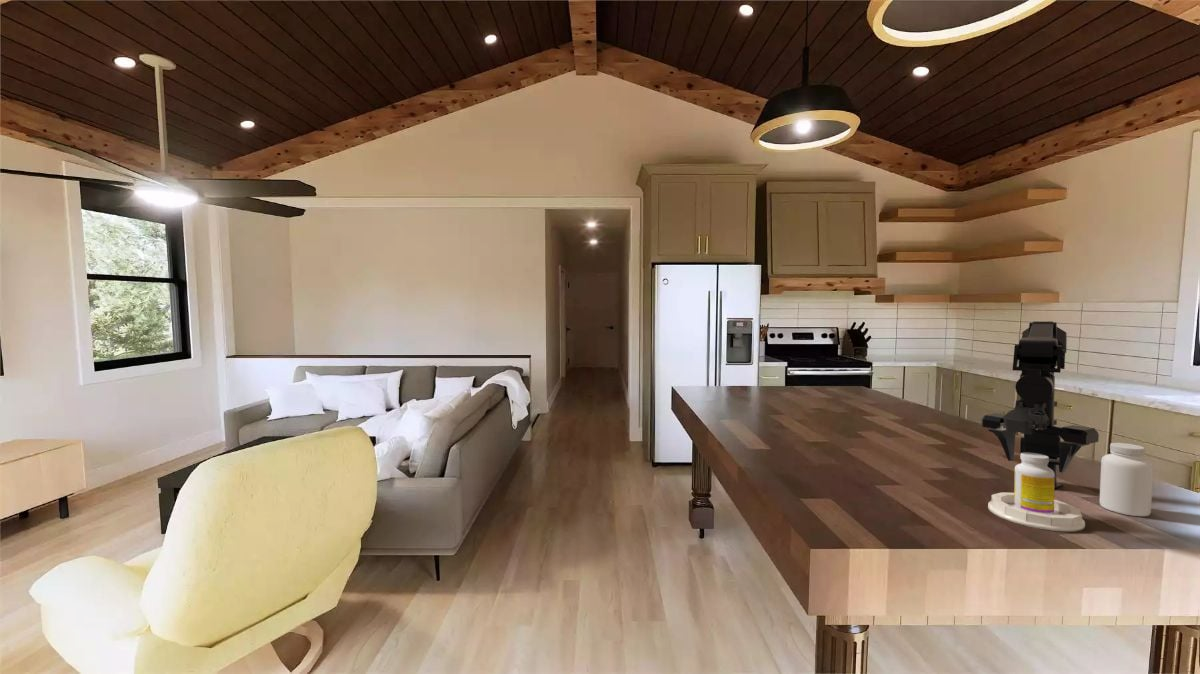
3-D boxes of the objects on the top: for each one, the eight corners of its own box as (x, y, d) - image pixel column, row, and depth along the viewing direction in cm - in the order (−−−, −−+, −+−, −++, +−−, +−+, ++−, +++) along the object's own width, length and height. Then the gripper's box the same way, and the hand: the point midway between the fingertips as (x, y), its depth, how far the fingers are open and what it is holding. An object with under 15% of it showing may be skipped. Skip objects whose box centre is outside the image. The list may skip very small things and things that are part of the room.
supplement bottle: (1062, 519, 103) (1063, 460, 103) (1026, 517, 104) (1027, 458, 104) (1040, 507, 110) (1041, 451, 109) (1007, 505, 111) (1007, 450, 111)
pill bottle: (1144, 520, 104) (1146, 452, 103) (1093, 507, 111) (1095, 443, 111) (1157, 513, 108) (1159, 447, 107) (1107, 501, 115) (1108, 439, 114)
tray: (1011, 498, 118) (1012, 487, 117) (1100, 523, 103) (1100, 511, 103) (972, 509, 111) (972, 498, 111) (1061, 537, 96) (1061, 524, 96)
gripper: (967, 393, 111) (966, 459, 112) (1072, 406, 94) (1071, 484, 95) (995, 390, 116) (994, 454, 116) (1100, 401, 99) (1098, 476, 99)
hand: (1035, 466), depth 106 cm, fingers open, 9 cm apart
